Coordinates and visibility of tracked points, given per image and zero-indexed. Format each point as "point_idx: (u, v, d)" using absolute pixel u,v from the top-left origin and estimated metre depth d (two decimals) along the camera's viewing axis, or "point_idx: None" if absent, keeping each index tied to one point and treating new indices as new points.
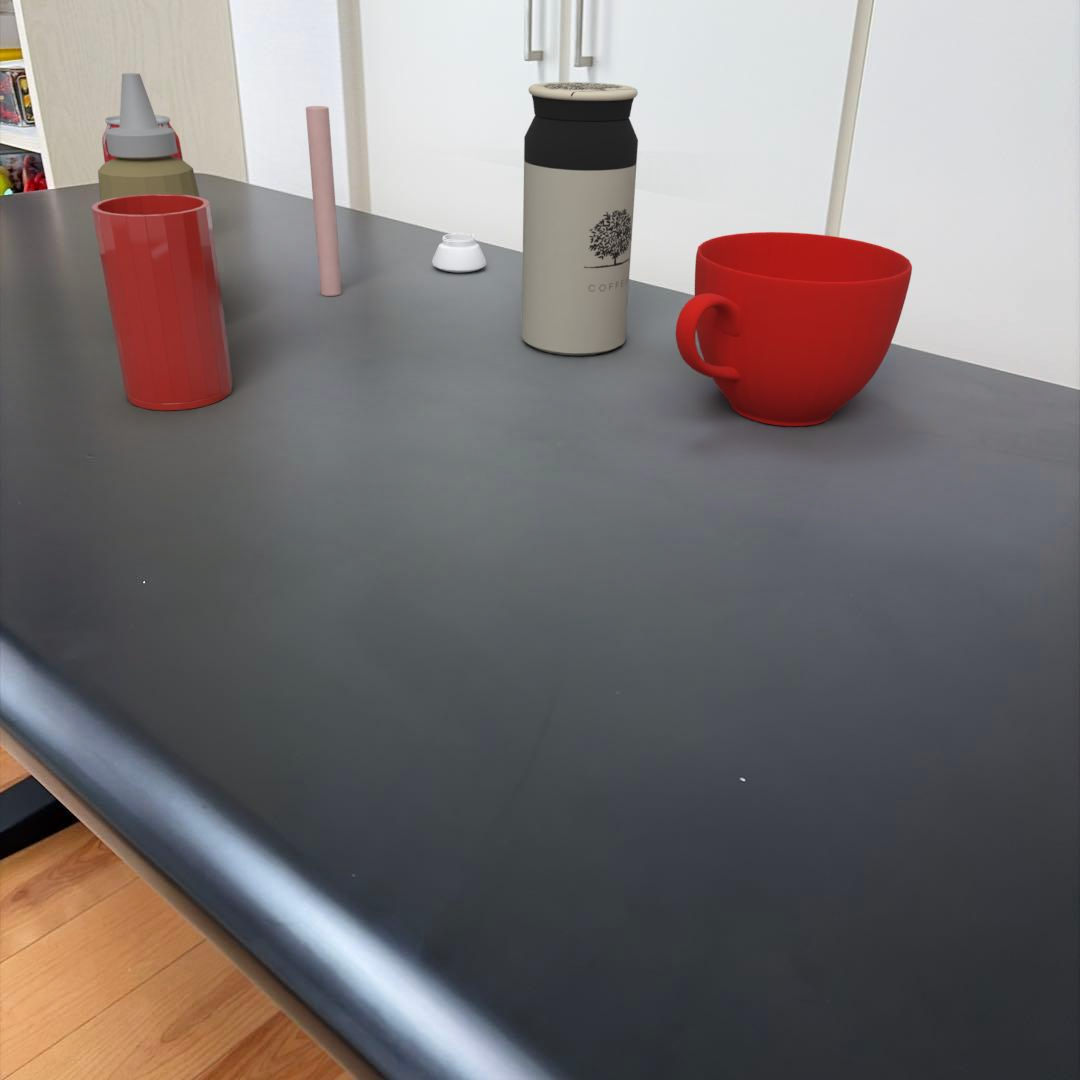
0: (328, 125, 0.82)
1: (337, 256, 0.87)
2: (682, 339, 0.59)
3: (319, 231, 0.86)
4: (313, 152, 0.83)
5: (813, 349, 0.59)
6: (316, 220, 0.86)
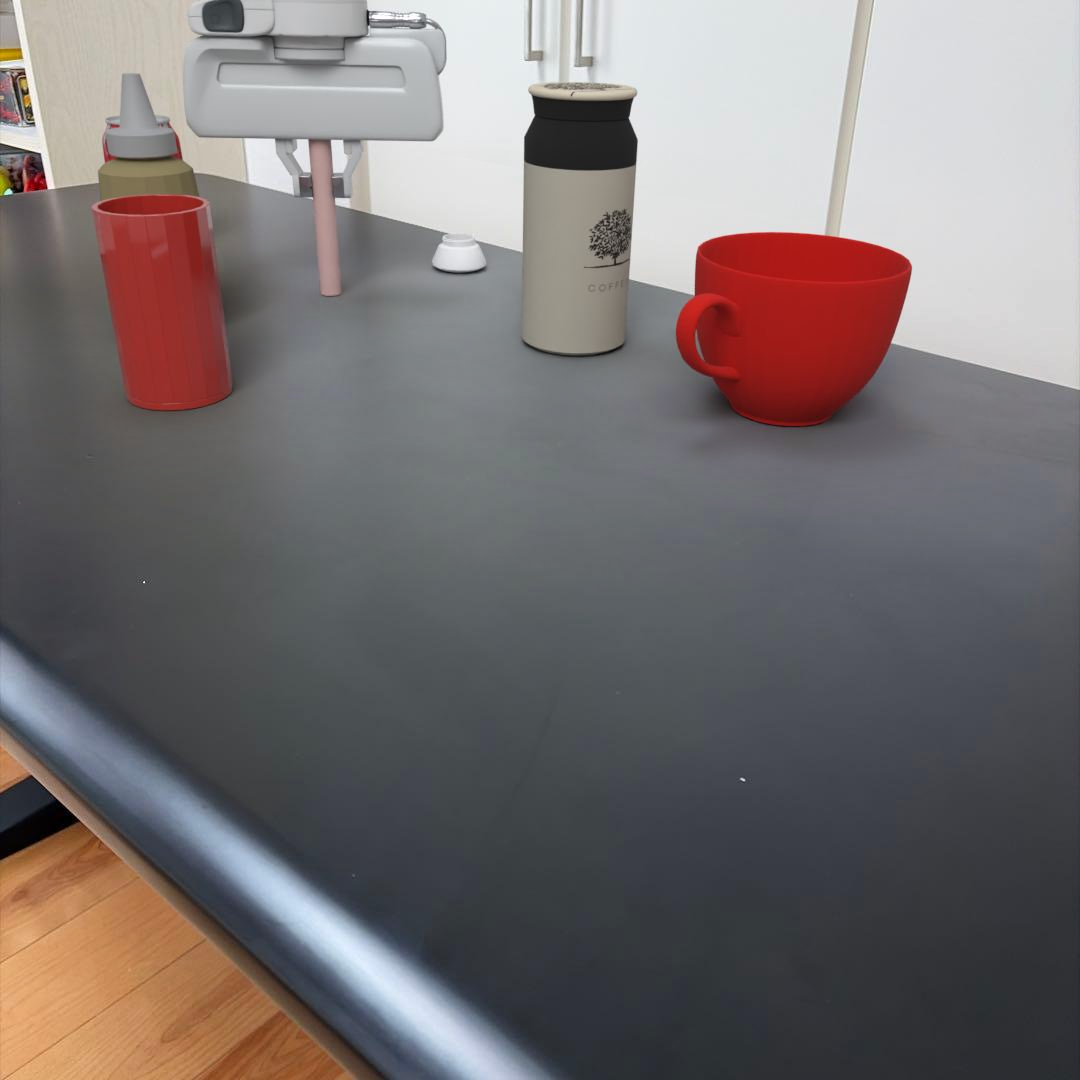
0: None
1: (337, 256, 0.87)
2: (682, 339, 0.59)
3: (319, 231, 0.86)
4: (313, 152, 0.83)
5: (813, 349, 0.59)
6: (316, 220, 0.86)
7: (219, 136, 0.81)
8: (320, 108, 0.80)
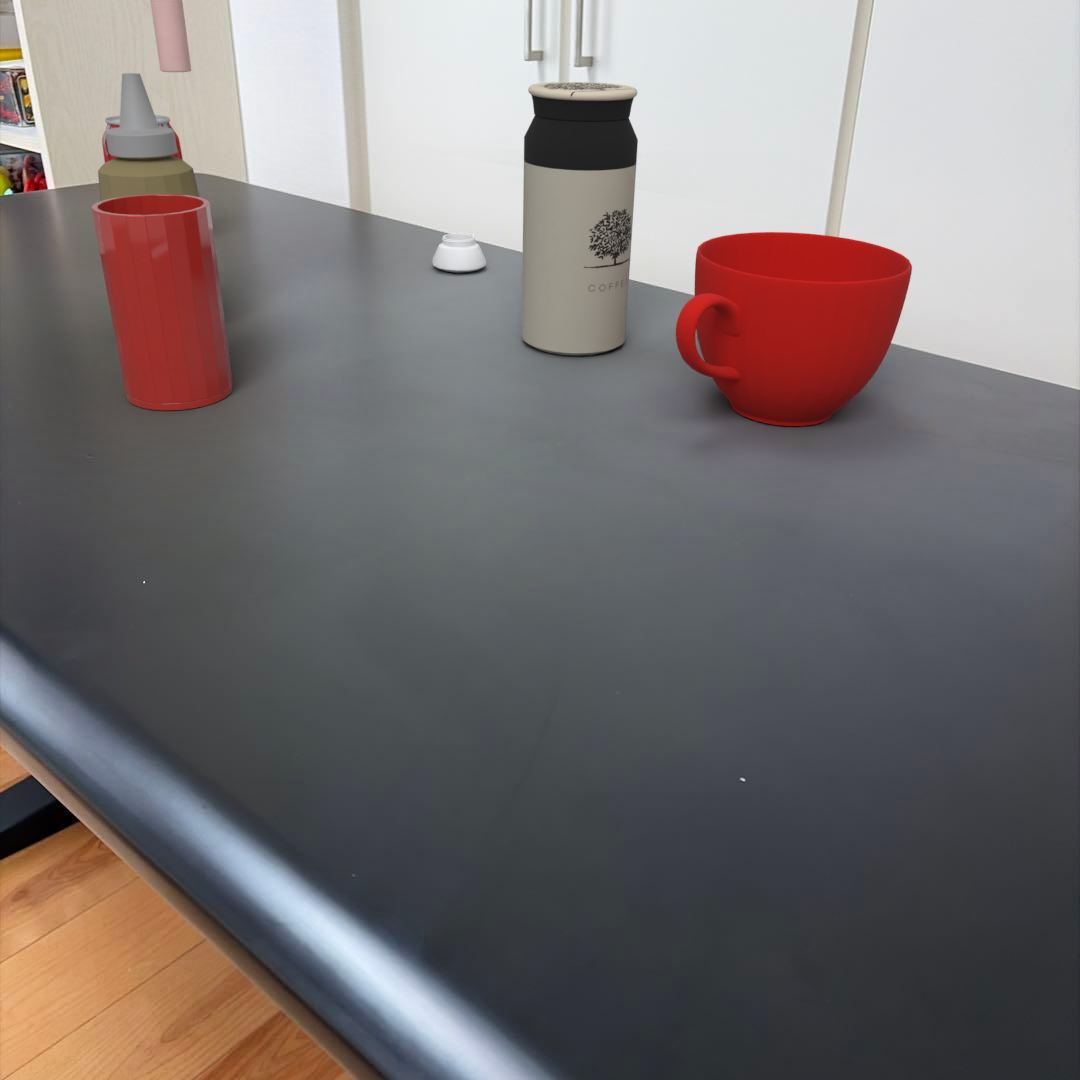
0: None
1: (180, 11, 0.61)
2: (682, 339, 0.59)
3: None
4: None
5: (813, 349, 0.59)
6: None
7: None
8: None
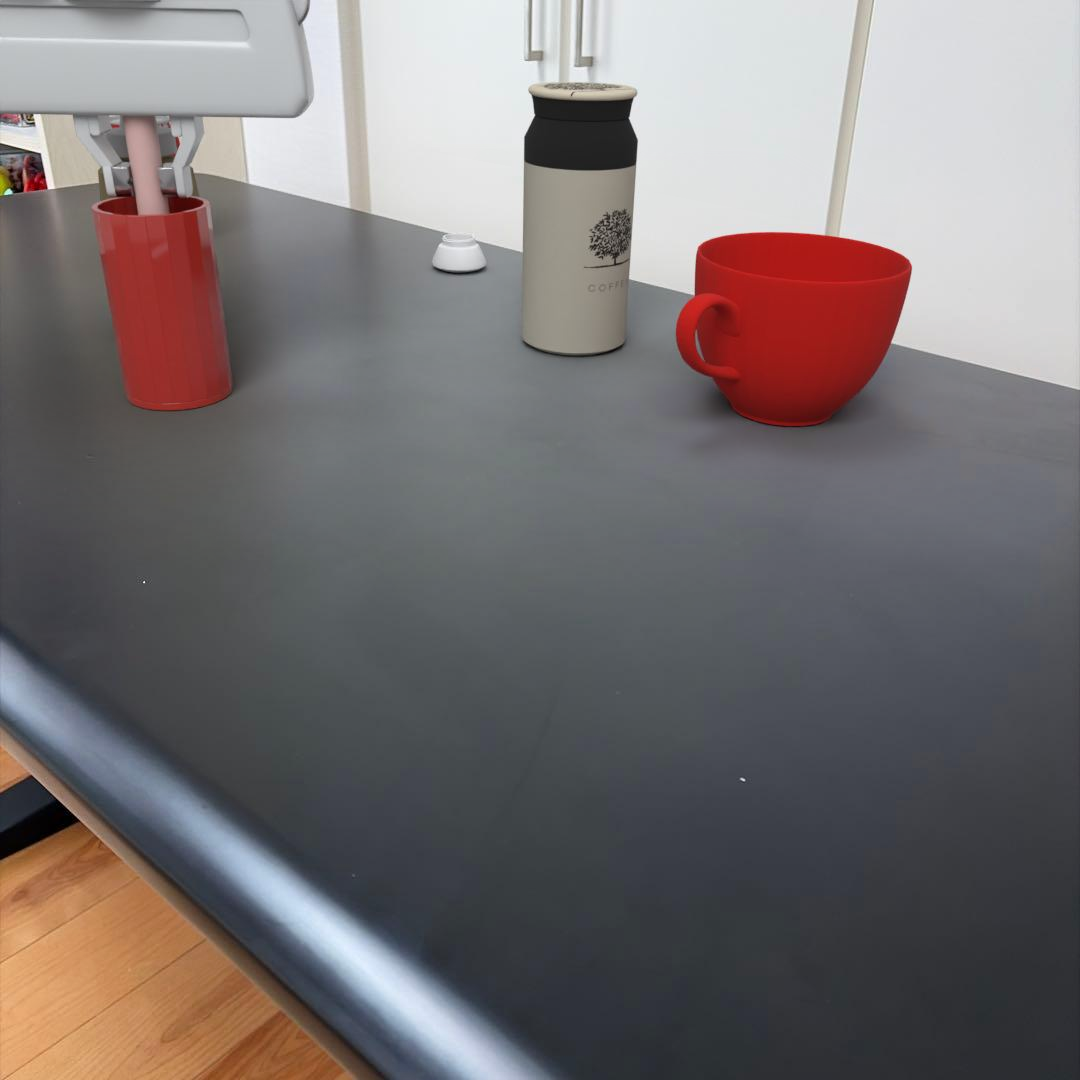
0: None
1: None
2: (682, 339, 0.59)
3: None
4: (129, 134, 0.59)
5: (813, 349, 0.59)
6: None
7: None
8: (131, 70, 0.57)
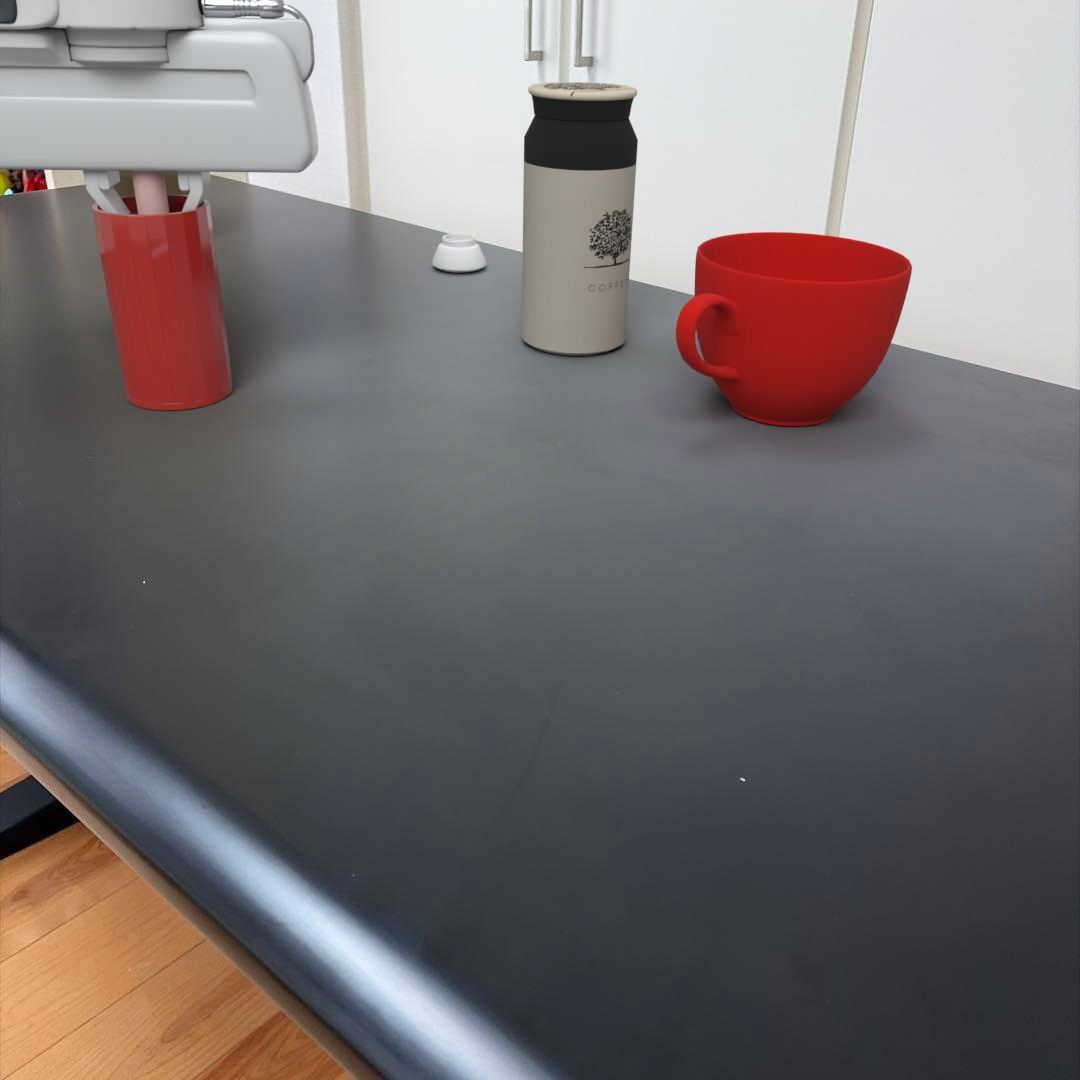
0: None
1: None
2: (682, 339, 0.59)
3: None
4: (137, 188, 0.61)
5: (813, 349, 0.59)
6: None
7: (3, 167, 0.59)
8: (140, 128, 0.58)
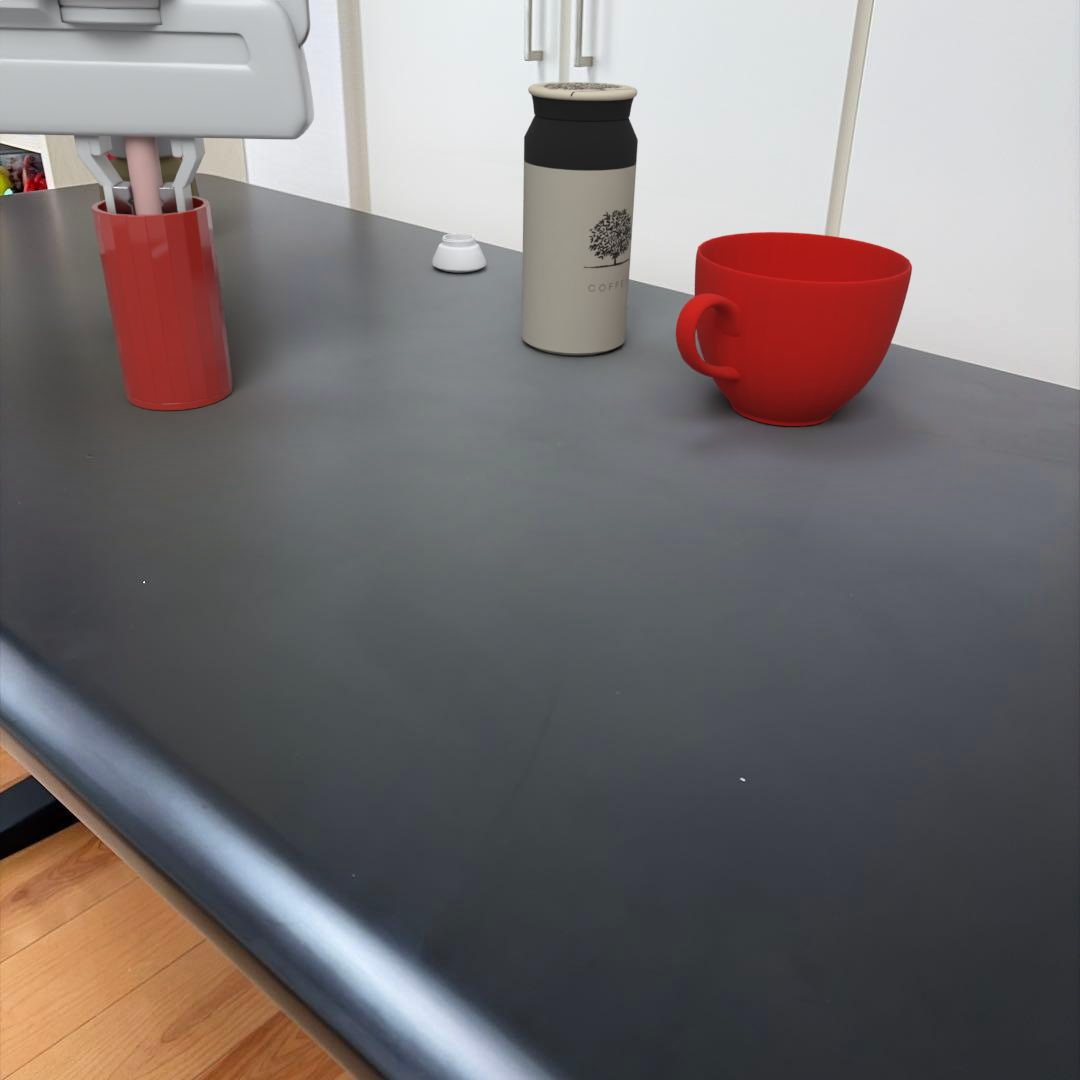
0: None
1: None
2: (682, 339, 0.59)
3: None
4: (130, 155, 0.60)
5: (813, 349, 0.59)
6: None
7: None
8: (132, 92, 0.57)
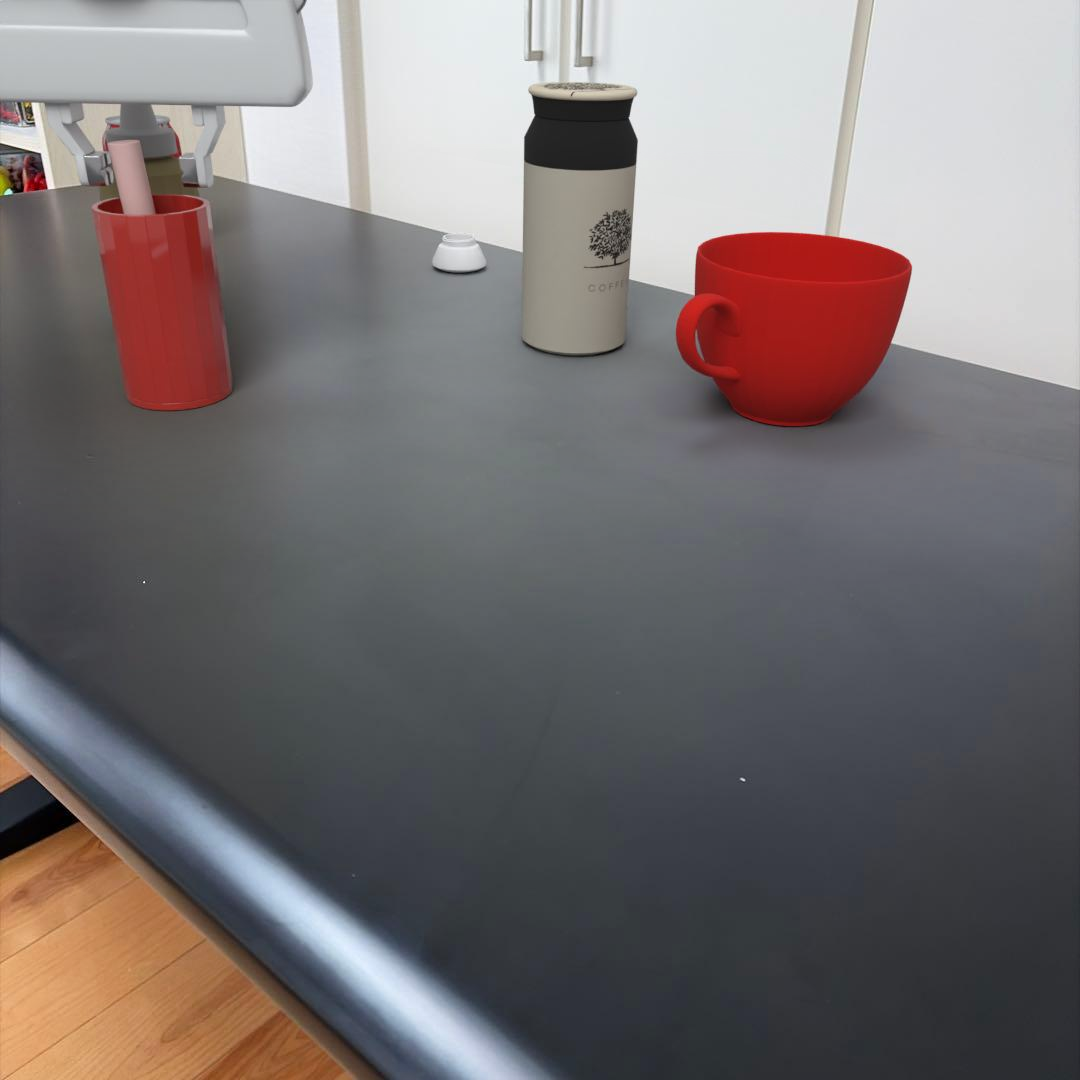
0: (141, 165, 0.61)
1: None
2: (682, 339, 0.59)
3: None
4: (125, 203, 0.61)
5: (813, 349, 0.59)
6: None
7: None
8: (128, 58, 0.57)
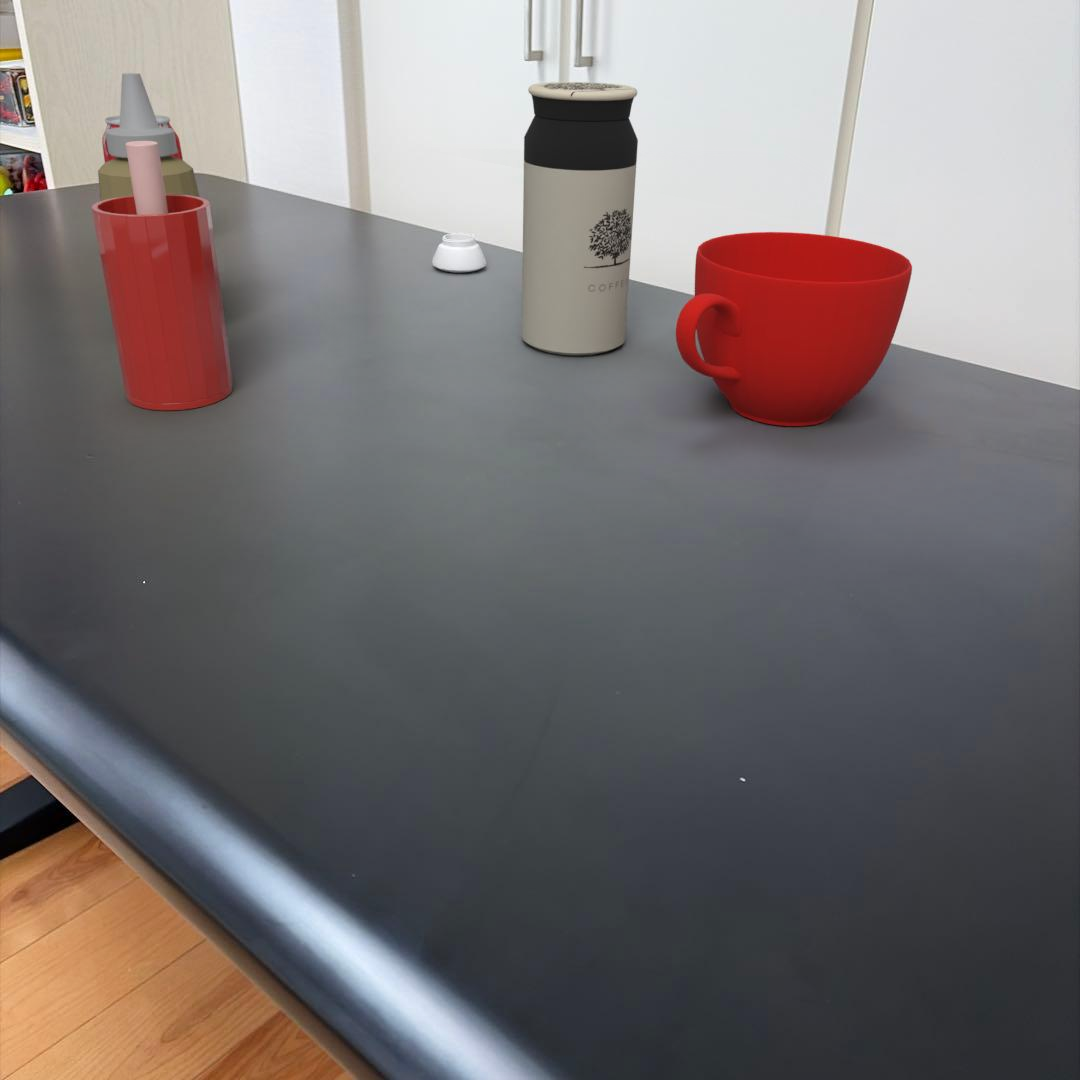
0: (158, 167, 0.61)
1: None
2: (682, 339, 0.59)
3: None
4: (139, 204, 0.61)
5: (813, 349, 0.59)
6: None
7: None
8: None
